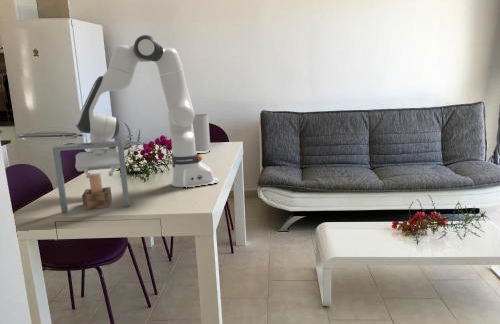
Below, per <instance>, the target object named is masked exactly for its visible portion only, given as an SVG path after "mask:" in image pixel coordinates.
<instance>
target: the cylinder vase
mask: <svg viewBox="0 0 500 324" xmlns="http://www.w3.org/2000/svg"><path fill="white" fill-rule="evenodd" d="M194 114H195V113H194ZM209 120H210V119H209V114H208V113H207V114H206V113H197V114H195V117H194V120H193V130H194V136H195V148H196V151H206V150H210V151H211V139H210V138H211V137H210V125H209V124H210V123H209Z"/></svg>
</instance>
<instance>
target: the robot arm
mask: <svg viewBox="0 0 500 324" xmlns="http://www.w3.org/2000/svg"><path fill="white" fill-rule="evenodd" d="M139 62H145V63H146V62H147V63H148V62H149V63H150V62H153V63H155V65H156V67H157V70H158V73H159V79H160V83H161V87H162V90H163V94H164V98H165V103H166V105H167V109H168V121H169V131H170V139H171V141H170V142H171V150H172V155H171V157H172V164H171V165H172V167H173V168H172V169H173V171H172V180H171V186H172V187H175V188H176V187H177V188H183V187H186V188H185V189H188V188H187V187H193V188H195V187H194V186H199V185H206V184H211V183H216V182H218V181H219V178H218V176H215V175H214V172H213V170H212V168H211V167H210V166H208V165H207V164H205V163H204V162H203V161H202V160H203V156H202V155H201V154H196V148H195V136H194V130H193V120H194V117H195V111H194V107H193V102H192V98H191V96H190V95H191V94H190V91H189V89H188V84H187V80H186V75H185V70H184V67H183V64H182V63H183V62H182V59H181V58H180V55H179V53H178V51H177V50H176V49H175V48H174V47H163V46H162V44H160V43H159V41H158V40H157V39H156V38H155V37H153V36H151V35H148V34H143V35H139V37H137V38H136V39H135V40H134V43H133V45H126V44H121V45H118V46H116V47H115V49H114V51H113V52H112V55H111V57H110V60H109V65H108V67H107V70H106V71H105V72H104V73H103V75H101V76H98V77H97V78H96V80H95V81H94V83H93V85H92V87H91V89H90V91H89V93H88V95H87V98H86V100H85V101H84V104H83V106H82V108H81V110H80V111H79V114H78V115H77V117H76V119H75V127H76V128H77V130H78V131H79V132H80V133H83V134H89V140H90V142H89V143H95V142H108V141H113V139H115V138H116V137H117V136H118V135H119V134H120V122H119V120H118V118H117V117H115V116H111V115H109V114H108V115H107V114H103V113H99V112H95V111H94V109H95V107H96V106H97V103H98V101H99V98H100V97H101V95H102V94H104V93H107V92H113V91H114V92H115V91H121V90H124V89H126V88H128V87H129V86H130V85H131V83H132V80H133V77H134V73H135V70H136V67H137V64H138V63H139ZM75 169H76V170H77V172H84V174H85V177H86V179H89V175H90V174H91V173H90V172H89V171H98V170H110V171H108V177H113V176H114V175H113V174H114V173H115V171H116V169H120V162H119V153H118V147H105V148H92V149H89V151H84V152H83V151H82V152H78V153H77V154H75ZM218 183H219V182H218ZM206 186H207V185H206Z"/></svg>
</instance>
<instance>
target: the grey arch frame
mask: <svg viewBox="0 0 500 324" xmlns="http://www.w3.org/2000/svg"><path fill="white" fill-rule="evenodd" d="M124 145H125V141H124V140H110V141H108V142H95V143H90V142H85V143H83V142H82V143H81V142H80V143H72V144H71V143H70V144H56V145H54V146H53V147H52V152H53V153H52V154H53V160H54V168H55V175H56V180H57V181H56V182H57V188H58V196H59V197H58V198H59V202H60V203H59V204H60V210H61V214H68V213H69V208H68V200H67V194H66V186H65V185H66V184H65V177H64V173H63V172H64V171H63V164H62V157H61V151H77V150H90V149H92V148H105V147H118V153H119V162H120V168H119V170H120V180H121V187H122V197H123V207H124V208H128V207H129V208H130V206H131V203H130V195H129V194H130V193H129V187H128V185H129V184H128V175H127V168H126V166H127V165H126V158H125V148H124V147H125V146H124Z"/></svg>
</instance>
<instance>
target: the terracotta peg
mask: <svg viewBox="0 0 500 324" xmlns="http://www.w3.org/2000/svg"><path fill="white" fill-rule="evenodd" d="M88 179H89V187H90V188H89V189H91V194H93V193H103V190H102V188H103V183H102V175H101V173H99V172H98V173H90V175H89V178H88Z"/></svg>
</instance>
